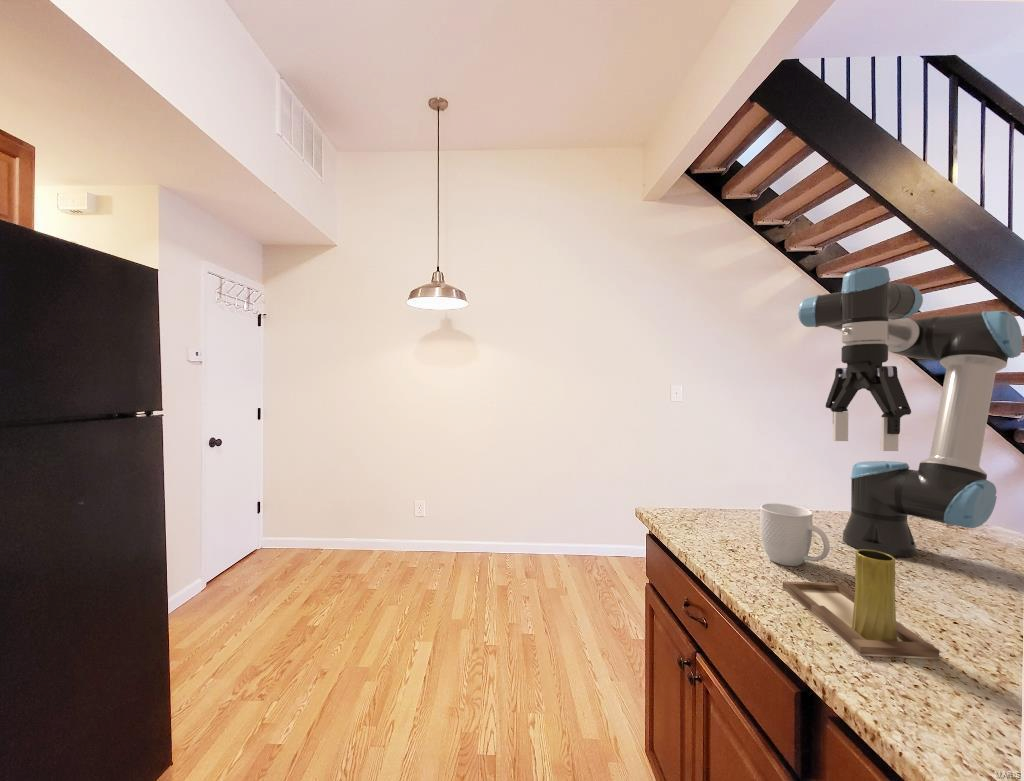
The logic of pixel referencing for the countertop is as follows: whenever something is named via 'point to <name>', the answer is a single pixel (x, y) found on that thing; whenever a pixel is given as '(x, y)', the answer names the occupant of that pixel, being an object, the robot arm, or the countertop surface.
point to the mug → (789, 534)
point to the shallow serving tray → (837, 614)
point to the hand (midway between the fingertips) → (863, 445)
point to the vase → (874, 596)
